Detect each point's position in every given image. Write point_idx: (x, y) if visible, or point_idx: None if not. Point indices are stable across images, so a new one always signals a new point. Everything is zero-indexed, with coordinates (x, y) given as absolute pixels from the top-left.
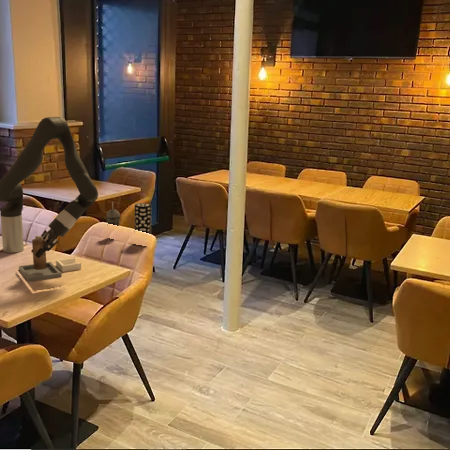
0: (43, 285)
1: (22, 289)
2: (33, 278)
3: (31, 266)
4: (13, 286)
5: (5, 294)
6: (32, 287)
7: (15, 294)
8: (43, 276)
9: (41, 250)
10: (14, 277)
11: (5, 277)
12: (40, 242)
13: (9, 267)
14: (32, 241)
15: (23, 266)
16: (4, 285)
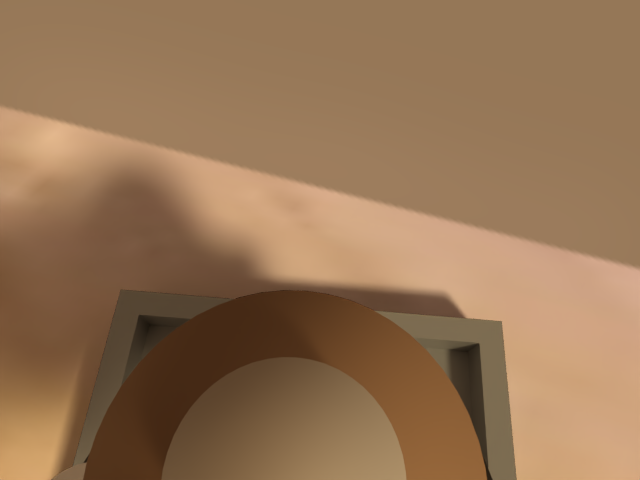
0: (17, 404)
1: (62, 235)
2: (113, 337)
3: (482, 444)
4: (167, 203)
5: (58, 126)
6: (44, 308)
7: (7, 171)
8: (82, 438)
9: (86, 461)
10: (359, 264)
11: (392, 212)
12: (97, 470)
13: (635, 303)
14: (289, 297)
15: (480, 357)
16: (226, 164)
